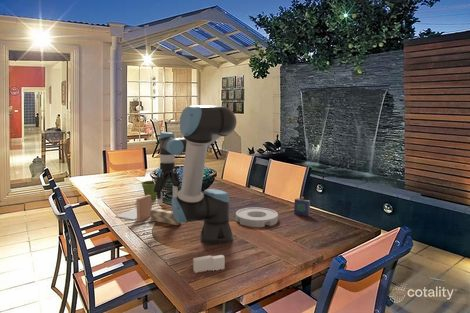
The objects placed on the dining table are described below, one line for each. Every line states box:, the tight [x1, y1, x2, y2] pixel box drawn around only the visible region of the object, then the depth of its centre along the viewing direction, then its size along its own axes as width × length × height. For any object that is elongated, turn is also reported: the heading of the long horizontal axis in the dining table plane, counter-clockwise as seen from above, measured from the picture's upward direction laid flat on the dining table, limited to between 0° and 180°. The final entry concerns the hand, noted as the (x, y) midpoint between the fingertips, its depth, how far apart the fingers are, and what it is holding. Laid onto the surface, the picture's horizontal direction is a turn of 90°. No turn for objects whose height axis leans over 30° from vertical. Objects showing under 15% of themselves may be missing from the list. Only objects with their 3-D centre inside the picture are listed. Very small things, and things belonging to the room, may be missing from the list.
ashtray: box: [235, 206, 279, 228], centre depth 194 cm, size 23×23×4 cm
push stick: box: [149, 208, 182, 226], centre depth 189 cm, size 18×3×6 cm, turn 64°
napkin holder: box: [192, 254, 226, 273], centre depth 135 cm, size 15×11×6 cm
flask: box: [293, 196, 311, 217], centre depth 203 cm, size 9×3×11 cm, turn 61°
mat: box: [115, 207, 137, 221], centre depth 201 cm, size 13×16×1 cm
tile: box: [135, 195, 153, 222], centre depth 195 cm, size 2×10×12 cm, turn 155°
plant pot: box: [140, 180, 157, 201], centre depth 233 cm, size 12×12×11 cm
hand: (167, 201), depth 187 cm, fingers open, 13 cm apart
